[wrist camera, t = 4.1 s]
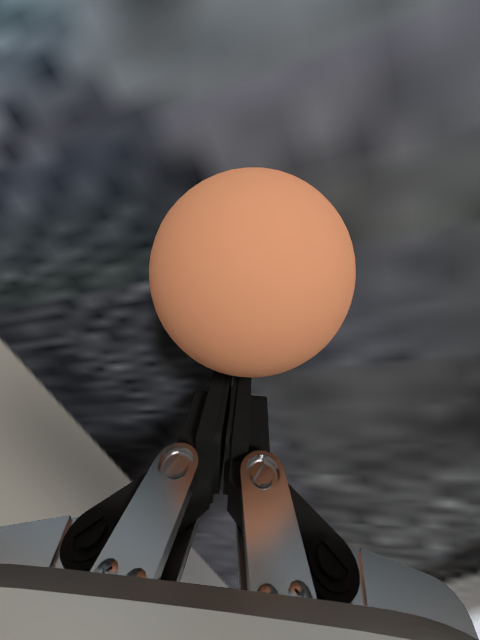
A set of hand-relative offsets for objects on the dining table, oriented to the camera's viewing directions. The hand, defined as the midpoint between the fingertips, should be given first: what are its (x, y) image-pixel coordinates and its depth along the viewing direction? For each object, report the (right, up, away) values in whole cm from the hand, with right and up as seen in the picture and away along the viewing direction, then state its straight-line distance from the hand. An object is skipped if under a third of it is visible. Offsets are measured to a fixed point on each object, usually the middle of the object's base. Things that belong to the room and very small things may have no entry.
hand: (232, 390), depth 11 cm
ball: (+1, +5, -4) cm, 6 cm away
